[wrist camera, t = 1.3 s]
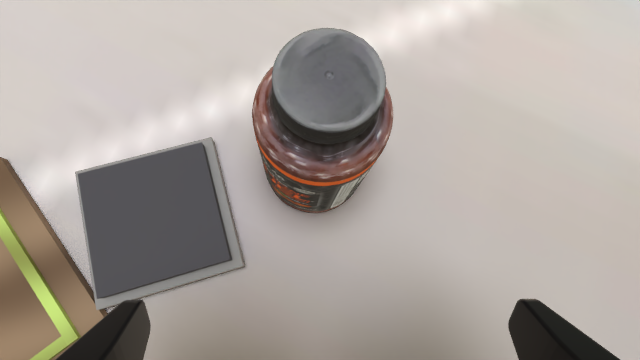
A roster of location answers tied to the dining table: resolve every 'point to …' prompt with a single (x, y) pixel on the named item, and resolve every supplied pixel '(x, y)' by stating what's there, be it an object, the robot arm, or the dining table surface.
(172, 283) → the pad
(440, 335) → the dining table surface
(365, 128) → the supplement bottle
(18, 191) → the board
